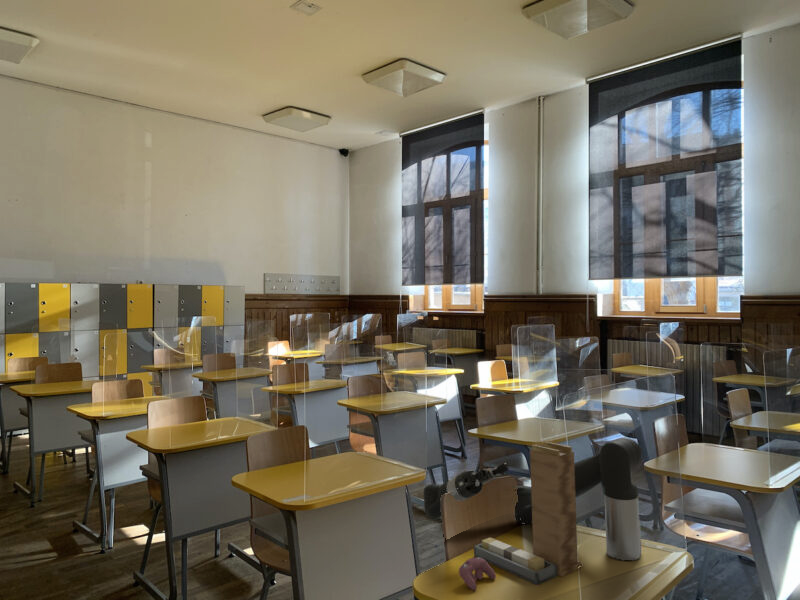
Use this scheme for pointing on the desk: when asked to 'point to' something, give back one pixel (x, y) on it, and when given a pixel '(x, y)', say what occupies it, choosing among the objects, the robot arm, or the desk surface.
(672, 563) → the desk surface
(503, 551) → the block
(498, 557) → the parts tray
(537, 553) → the brown wooden tall block
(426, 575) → the desk surface
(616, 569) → the desk surface
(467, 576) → the video game controller
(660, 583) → the desk surface
